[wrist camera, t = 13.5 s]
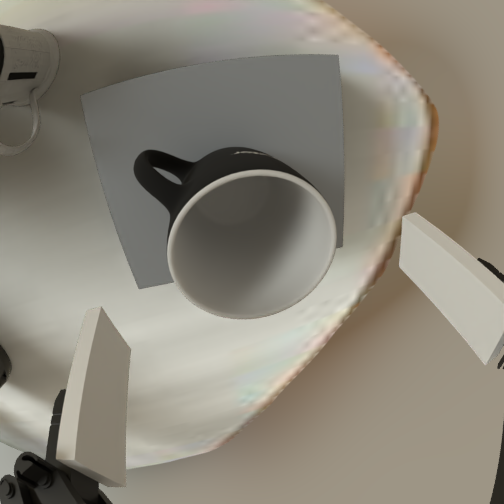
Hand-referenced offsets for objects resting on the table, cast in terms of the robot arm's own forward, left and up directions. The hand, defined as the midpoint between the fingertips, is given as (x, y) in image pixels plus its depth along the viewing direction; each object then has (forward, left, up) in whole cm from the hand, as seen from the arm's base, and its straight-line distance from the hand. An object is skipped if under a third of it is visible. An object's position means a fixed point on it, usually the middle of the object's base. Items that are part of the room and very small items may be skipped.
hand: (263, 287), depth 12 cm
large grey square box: (0, 0, -22) cm, 22 cm away
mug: (-1, 0, -14) cm, 14 cm away
